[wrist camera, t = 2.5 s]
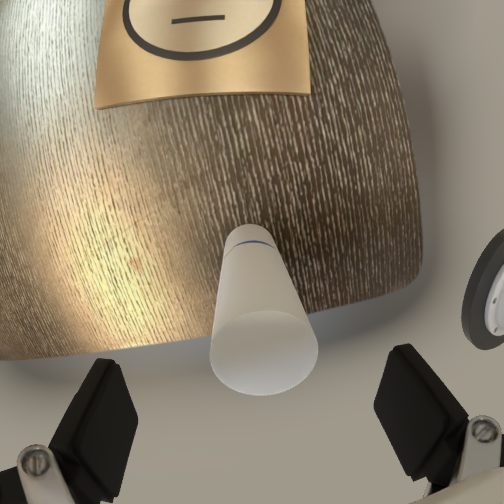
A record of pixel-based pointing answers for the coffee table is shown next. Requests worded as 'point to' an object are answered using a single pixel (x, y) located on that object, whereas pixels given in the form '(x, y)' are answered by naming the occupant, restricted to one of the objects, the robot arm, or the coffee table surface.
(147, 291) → the coffee table surface
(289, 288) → the tube
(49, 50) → the coffee table surface
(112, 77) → the drawing board
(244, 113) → the coffee table surface
